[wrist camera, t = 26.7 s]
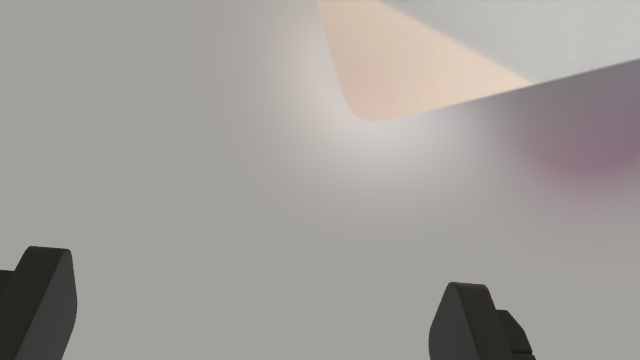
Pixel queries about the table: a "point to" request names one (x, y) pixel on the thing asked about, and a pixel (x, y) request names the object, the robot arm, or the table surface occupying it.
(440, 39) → the table surface
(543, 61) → the table surface
